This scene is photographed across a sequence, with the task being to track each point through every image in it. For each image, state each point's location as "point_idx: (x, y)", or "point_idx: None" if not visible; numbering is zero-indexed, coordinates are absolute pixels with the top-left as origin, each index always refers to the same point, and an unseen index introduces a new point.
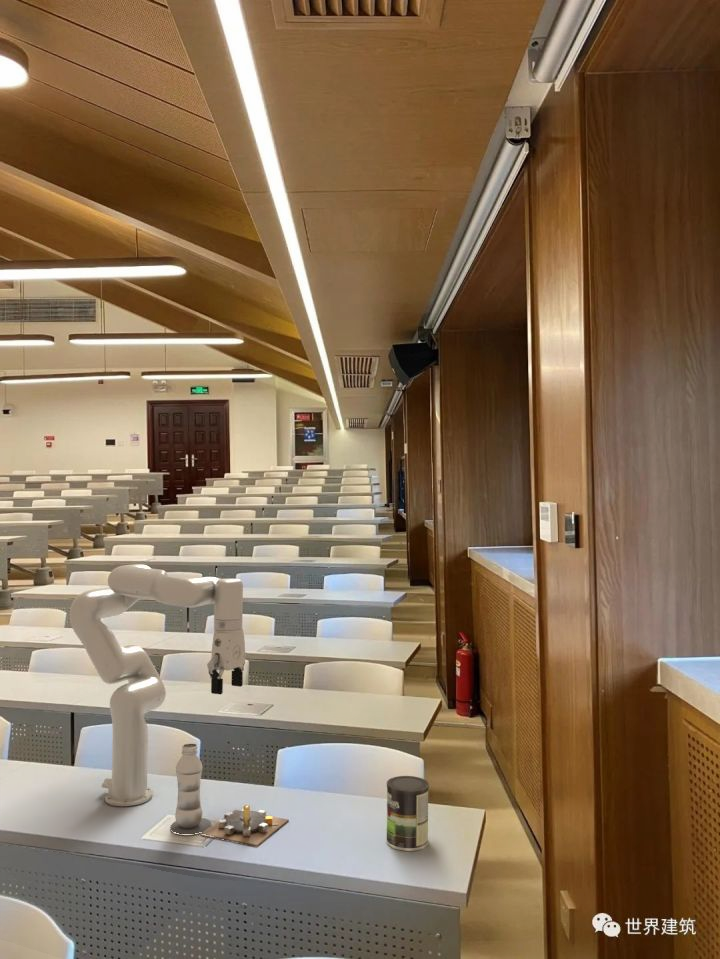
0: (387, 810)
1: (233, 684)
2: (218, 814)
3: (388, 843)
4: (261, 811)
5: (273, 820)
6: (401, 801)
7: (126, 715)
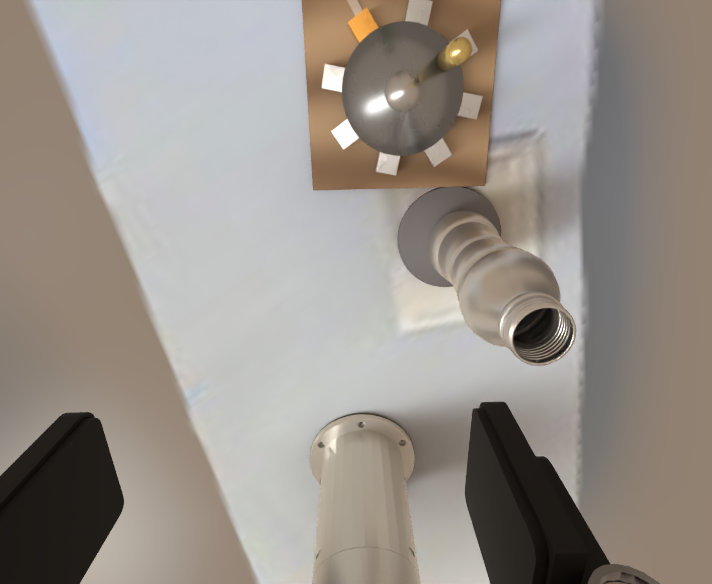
0: None
1: (114, 495)
2: (349, 221)
3: None
4: (332, 77)
5: (328, 33)
6: None
7: None
